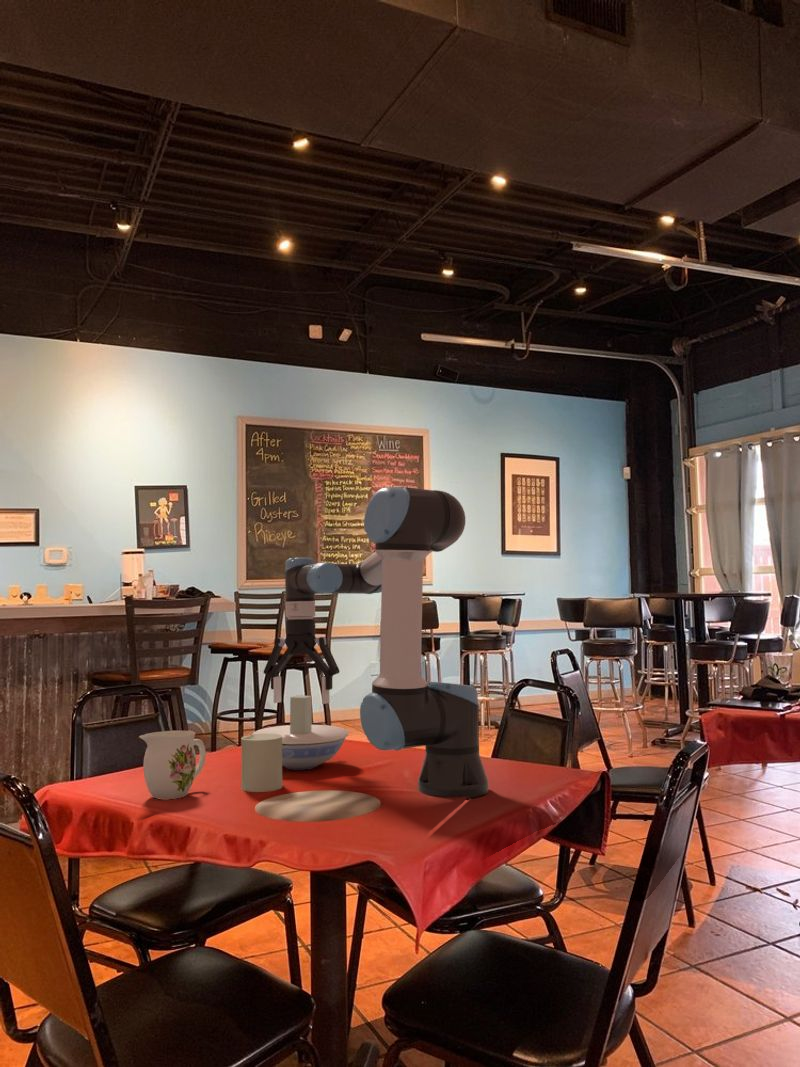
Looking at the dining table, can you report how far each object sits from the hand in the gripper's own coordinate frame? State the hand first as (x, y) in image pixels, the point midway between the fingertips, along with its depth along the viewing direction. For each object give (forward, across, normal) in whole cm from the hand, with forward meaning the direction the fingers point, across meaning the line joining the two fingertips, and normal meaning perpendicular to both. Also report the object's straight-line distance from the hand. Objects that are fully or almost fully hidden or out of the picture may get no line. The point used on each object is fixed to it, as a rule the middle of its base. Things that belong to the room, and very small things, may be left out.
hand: (301, 703), depth 203 cm
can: (+16, +2, -25) cm, 30 cm away
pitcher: (+16, -14, -35) cm, 41 cm away
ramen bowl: (+16, 0, 0) cm, 16 cm away
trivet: (+16, +22, -36) cm, 45 cm away
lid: (+8, 0, 0) cm, 8 cm away
